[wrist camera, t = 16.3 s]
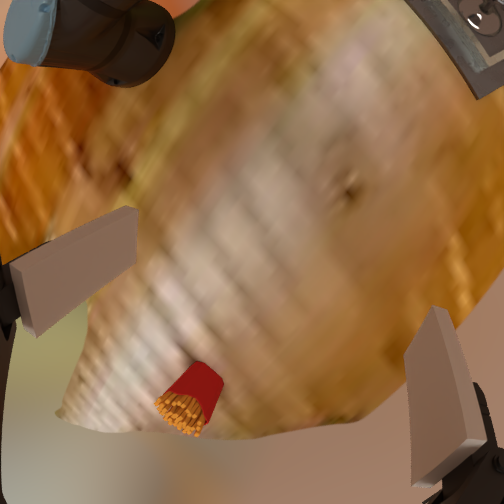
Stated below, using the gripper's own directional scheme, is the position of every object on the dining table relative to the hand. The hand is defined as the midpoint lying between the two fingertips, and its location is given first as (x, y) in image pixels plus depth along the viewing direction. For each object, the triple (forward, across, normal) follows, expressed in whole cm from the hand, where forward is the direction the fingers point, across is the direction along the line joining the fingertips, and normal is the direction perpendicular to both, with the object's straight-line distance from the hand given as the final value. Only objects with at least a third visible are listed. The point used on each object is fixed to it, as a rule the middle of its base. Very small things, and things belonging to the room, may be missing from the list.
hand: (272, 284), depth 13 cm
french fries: (+28, -10, -40) cm, 50 cm away
